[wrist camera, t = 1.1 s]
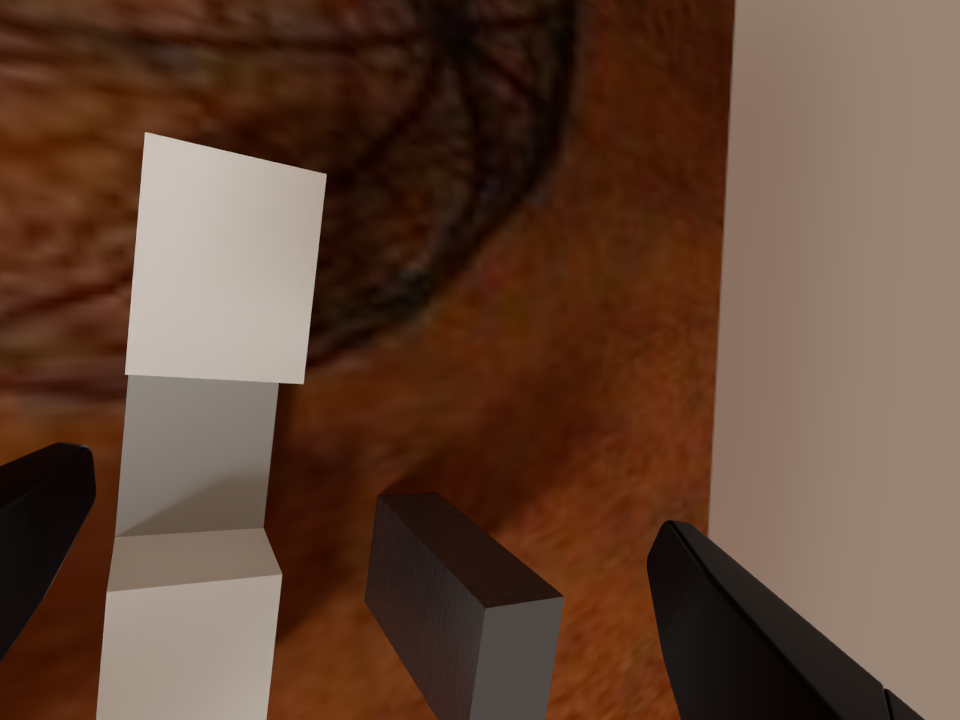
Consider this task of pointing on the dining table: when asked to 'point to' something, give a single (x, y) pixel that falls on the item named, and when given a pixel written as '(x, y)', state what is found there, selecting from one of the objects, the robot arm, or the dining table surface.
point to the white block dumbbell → (205, 430)
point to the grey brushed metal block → (461, 611)
